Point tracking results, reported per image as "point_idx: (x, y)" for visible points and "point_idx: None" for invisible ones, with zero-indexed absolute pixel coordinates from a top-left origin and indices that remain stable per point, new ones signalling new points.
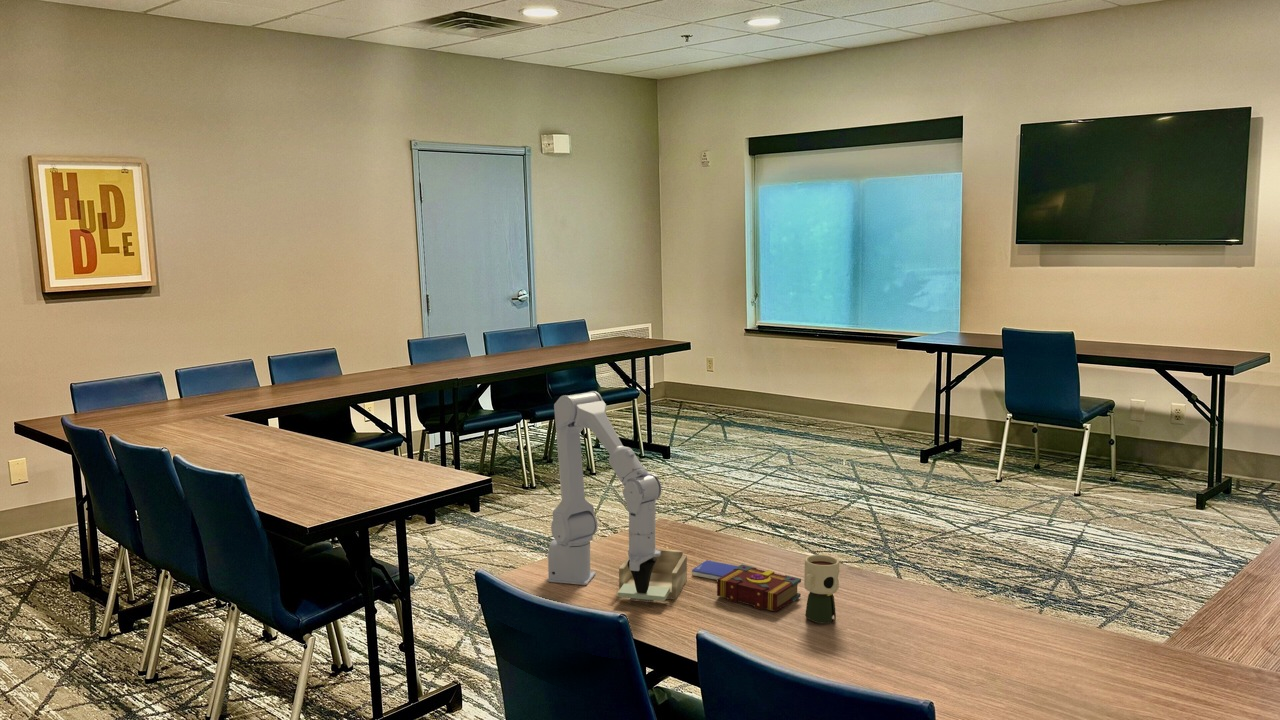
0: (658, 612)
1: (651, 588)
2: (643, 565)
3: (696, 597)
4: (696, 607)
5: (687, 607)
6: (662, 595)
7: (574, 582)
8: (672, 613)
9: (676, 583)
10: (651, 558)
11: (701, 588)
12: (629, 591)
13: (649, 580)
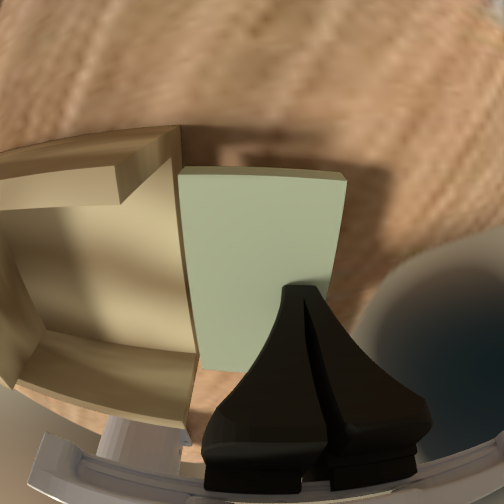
0: (367, 182)
1: (225, 271)
2: (414, 448)
3: (128, 39)
4: (266, 5)
5: (278, 47)
6: (327, 195)
7: None
8: (372, 115)
9: (144, 143)
10: (255, 461)
11: (33, 65)
12: None
13: (293, 321)
